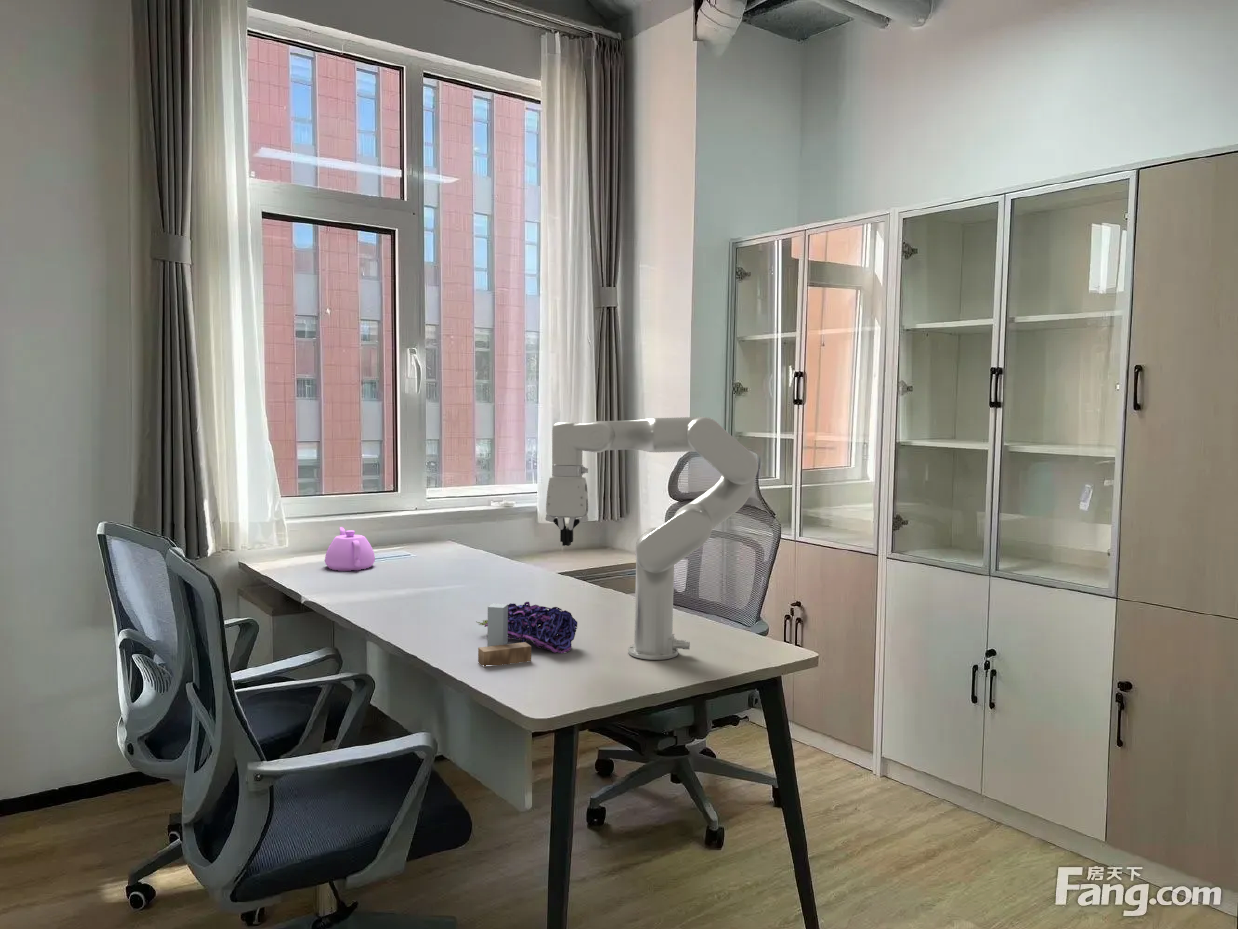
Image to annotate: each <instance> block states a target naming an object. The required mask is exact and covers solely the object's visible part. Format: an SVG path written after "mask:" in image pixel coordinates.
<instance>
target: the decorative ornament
mask: <svg viewBox="0 0 1238 929" xmlns="http://www.w3.org/2000/svg"><path fill="white" fill-rule="evenodd" d="M481 621H482V622H480V621H476V623H477V624H478V626H484V627H487V628H488V619H483V620H481ZM577 629H578V621H577V620H576V619H575V618H574V617H573V615H572V613H571V612H570V611H568V610H563V609H562V608H561V607H558V606H552V607H546V606H541V605H538V604H533V605H531V604H530V601H525V602H524V604H519V605H517V603H509V604H508V639H510V640H511V639H512V640H520V641H521V642H520V643H522V642H526V643H527V641H531V642H532V644H533V646H534V647H536V648H539V649H543V650H547V651H551V652H552V653H554V654H556V653H559V654H565V653H564V652H567V653H568V652H570V651H571V649H572V642H573V640H574V639H575V637H576V632H577Z"/></svg>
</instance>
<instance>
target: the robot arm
mask: <svg viewBox="0 0 1238 929" xmlns="http://www.w3.org/2000/svg"><path fill="white" fill-rule="evenodd" d="M551 431H552V432H551V436H552V438H551V439H552V440H551V441H552V446H551V447H552V448H551V450H552V451H551V452H552V453H551V454H552V455H551V460H552V461H551V466H552V468H551V476H550V477H549V479H548V484H547V490H546V491H547V492H546V500H545V501H546V503H545V512H546V513H545V514H546V515H545V518H544V519H545V521H547V522H550V523H554V524H555V525H556V527H557V528H558V529H559V530H560V532H559V533H560V534H559V535H560V536H559V537H560V538H559V539H560V542H561V543H562V546H563V547H565V546H567V547H570V546H571V545H572V543H573V542H574V529H575V528H576V527H577V526H578V525H579V524H583V523H587V522H588V521H589V517H588V516H589V515H588V513H589V495H588V494H589V492H588V484H587V479H586V477H585V476H583V475H585V474H589V467H586V466H584V464H583V452H589V453H603V452H605V451H618V450H619V451H623V450H625V451H626V450H627V451H629V450H633V451H643V452H647V453H681V452H682V453H686V452H691V453H692V452H696V453H697V454H698V455H699V456H701V458H703V459H704V460H705V461H706V462H707V463H708V464H710V466H712V467H713V468H714V469H715V470H716V471H718V472H719V473H720V474H721V475H720V478H719V480H717V482H716V483H715V484H714V485H713V486H712V487H710V488H709V489H708V490H706V491H705V492H704V493H702V494H701V495H699V496H698V497H697V498H694V499H693V500H692V501H691V502H690V501H689V503H687V504H685V505H683V506H681V507H680V508H679V509H677V511H675V513H674V515H673V517H672V518H670V519H669V520H667V521H666V522H664V523H663V524H662V525H660V526H659V527H649V528H647V529H645V530H643V531H642V533H640V535H639V536H638V538H637V541H636V544H635V553H634V554H635V593H634V594H635V597H634V598H635V600H634V601H635V602H634V640H633V641H634V643H633V644H632V645H630V646H628V648H627V650H628V651H627V652H628V655H629V656H631V657H634V658H636V659H642V660H649V661H652V660H653V661H660V660H668V659H669V660H670V659H673V658H676V657H677V656H678V655H679V650H680V649H682V650H689V651H690V649H691V642H690V641H687V640H686V639H677V638H676V637H675V633H673V632H674V631H673V624H674V618H673V617H674V593H675V592H674V588H675V587H674V583H675V565H676V564H678V563H679V562H681V561H682V560H684V559H685V558H687V557H688V556H689V555H691V554H693V553H695V551H697V550H699V548H701V547H702V546H703V545H705V543H707V542H708V540H709V539H710V537H711V535H712V533H713V532H712V531H713V530H714V529H715V528H716V527H718V526H719V525H720V524H721V525H722V523H723V522H726V521H727V519H728V518H730V517H731V516H733V515H734V514H735V513H737V512H738V511H739V510H740V509H741V508H742V507H743V506H745V504H746V503H747V500H748V499H749V498H750V496H751V494H752V491H753V488H754V484H755V478H756V476H757V475H758V471H759V464H758V460H757V457H756V456H755V455H754V454H753V453H752V452H751V451H750V450H748V449H747V448H746V447H745V446H744V445H743V444H742V443H740V442H739V440H737V439H736V438H734V436H733V435H731V433H729V432H728V431H726V429H724V427H723V426H721V425H720V424H719V423H718V422H717V420H715V419H713V418H711V417H707V416H690V417H688V416H686V417H683V416H682V417H653V418H649V417H648V418H644V419H636V420H635V419H633V420H631V419H630V420H599V421H598V420H596V421H594V422H593V421H592V422H587V423H586V422H585V423H579V422H573V421H562V422H561V421H559V422H556V423H554V424H553V425H552V430H551ZM566 518H569V520H568V526H566Z"/></svg>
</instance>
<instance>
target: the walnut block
mask: <svg viewBox="0 0 1238 929" xmlns="http://www.w3.org/2000/svg"><path fill="white" fill-rule="evenodd" d="M477 652H478V653H477V655H478V656H477V661H478V662H479V663H480V664H481V665H484V666H486V665H499V666H504V664H507V665H511V664H510V663H515V664H520V663H519V662H523V663H528V662H527V661H530V662H532V645H530V644H529V643H527V641H526V642H516V643H508V644H505V645H496V646H488V647H487V646H482V647H478V648H477ZM479 663H478V664H479ZM480 664H479V665H480ZM502 664H503V665H502ZM481 665H480V666H481Z"/></svg>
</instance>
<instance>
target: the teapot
mask: <svg viewBox="0 0 1238 929" xmlns="http://www.w3.org/2000/svg"><path fill="white" fill-rule="evenodd" d="M355 533H356V530H354V529H351V530H346V529H345V528H344V526H339V535H336V536H335V537H334V538H333V540H332V541H331V543H330V544H329V546H328V548H327V549H326V552H325V556H324V563H325V565H326V566H327V567H328V568H329V569H330V570H331V569H332V571H336V570H338V571H339V572H352V571H351V570H357V571H362V570H361V569H364V570H367V569H366V568H368V569H370V568H371V567H372V566H373V565H374V563H375V561H376V556H375V551H374V548H373V547H372V544H371V543H370V542H369V540H368V538H367V537H366V536H364V535H361V534H355ZM369 567H370V568H369ZM338 571H337V572H338Z"/></svg>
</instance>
